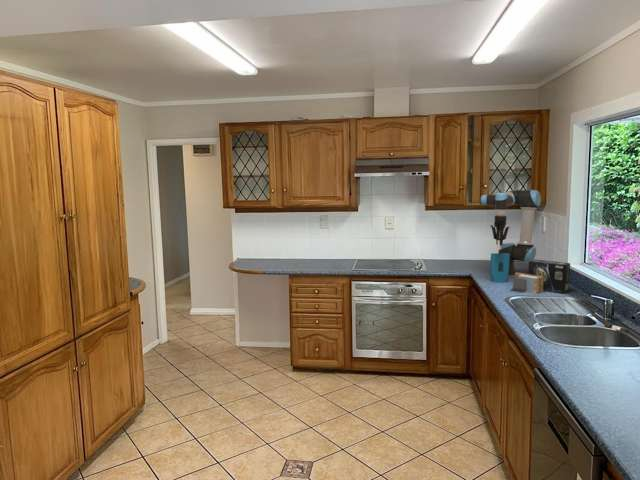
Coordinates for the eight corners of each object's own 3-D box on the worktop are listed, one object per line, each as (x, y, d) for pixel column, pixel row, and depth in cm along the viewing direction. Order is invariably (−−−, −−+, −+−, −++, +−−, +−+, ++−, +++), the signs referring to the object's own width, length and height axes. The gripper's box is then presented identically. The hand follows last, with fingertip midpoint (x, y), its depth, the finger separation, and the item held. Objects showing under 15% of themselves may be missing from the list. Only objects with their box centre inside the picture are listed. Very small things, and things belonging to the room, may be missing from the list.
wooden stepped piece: (515, 286, 315) (516, 272, 313) (543, 291, 301) (543, 276, 299) (507, 289, 308) (508, 274, 307) (535, 294, 294) (536, 278, 293)
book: (521, 288, 309) (522, 274, 307) (539, 292, 300) (540, 277, 298) (517, 290, 306) (518, 275, 304) (535, 293, 296) (536, 278, 295)
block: (491, 282, 328) (493, 254, 326) (489, 280, 333) (490, 253, 331) (508, 282, 328) (510, 254, 326) (505, 280, 333) (507, 253, 331)
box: (527, 288, 310) (528, 260, 307) (532, 286, 317) (533, 258, 315) (564, 294, 294) (566, 265, 292) (569, 291, 301) (571, 262, 299)
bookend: (513, 289, 306) (514, 277, 305) (525, 291, 300) (525, 279, 299) (510, 290, 303) (510, 278, 302) (521, 292, 297) (522, 280, 296)
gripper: (488, 215, 318) (487, 249, 321) (507, 216, 308) (505, 251, 311) (494, 214, 323) (493, 247, 326) (512, 215, 313) (510, 250, 316)
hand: (499, 249), depth 319 cm, fingers closed
